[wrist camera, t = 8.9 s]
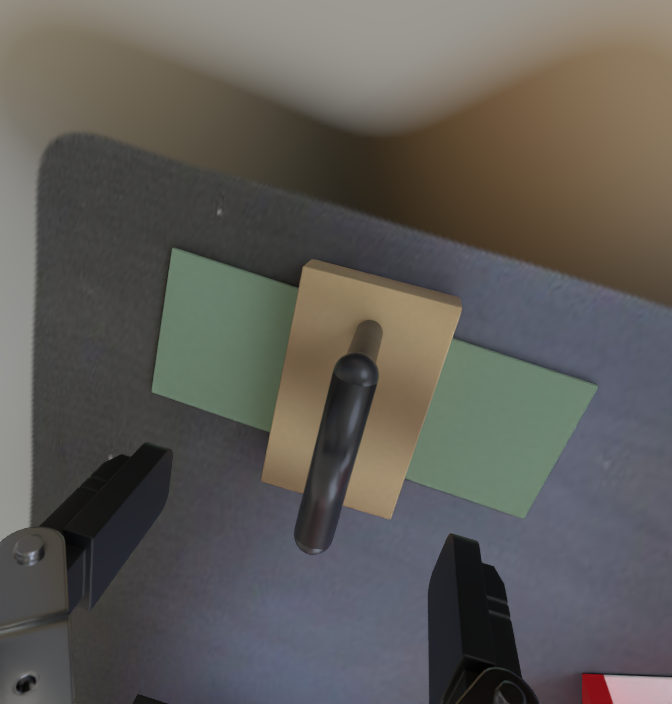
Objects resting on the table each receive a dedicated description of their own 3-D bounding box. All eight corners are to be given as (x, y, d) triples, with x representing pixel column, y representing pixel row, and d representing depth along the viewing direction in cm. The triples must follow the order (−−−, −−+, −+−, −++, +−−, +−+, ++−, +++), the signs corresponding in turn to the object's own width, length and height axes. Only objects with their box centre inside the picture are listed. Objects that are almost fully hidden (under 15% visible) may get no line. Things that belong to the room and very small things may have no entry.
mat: (153, 390, 23) (150, 392, 23) (174, 247, 21) (171, 248, 20) (523, 516, 22) (524, 519, 22) (597, 384, 20) (598, 386, 19)
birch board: (392, 498, 23) (381, 611, 17) (269, 462, 23) (219, 560, 18) (460, 296, 19) (474, 356, 13) (311, 257, 20) (263, 299, 14)
